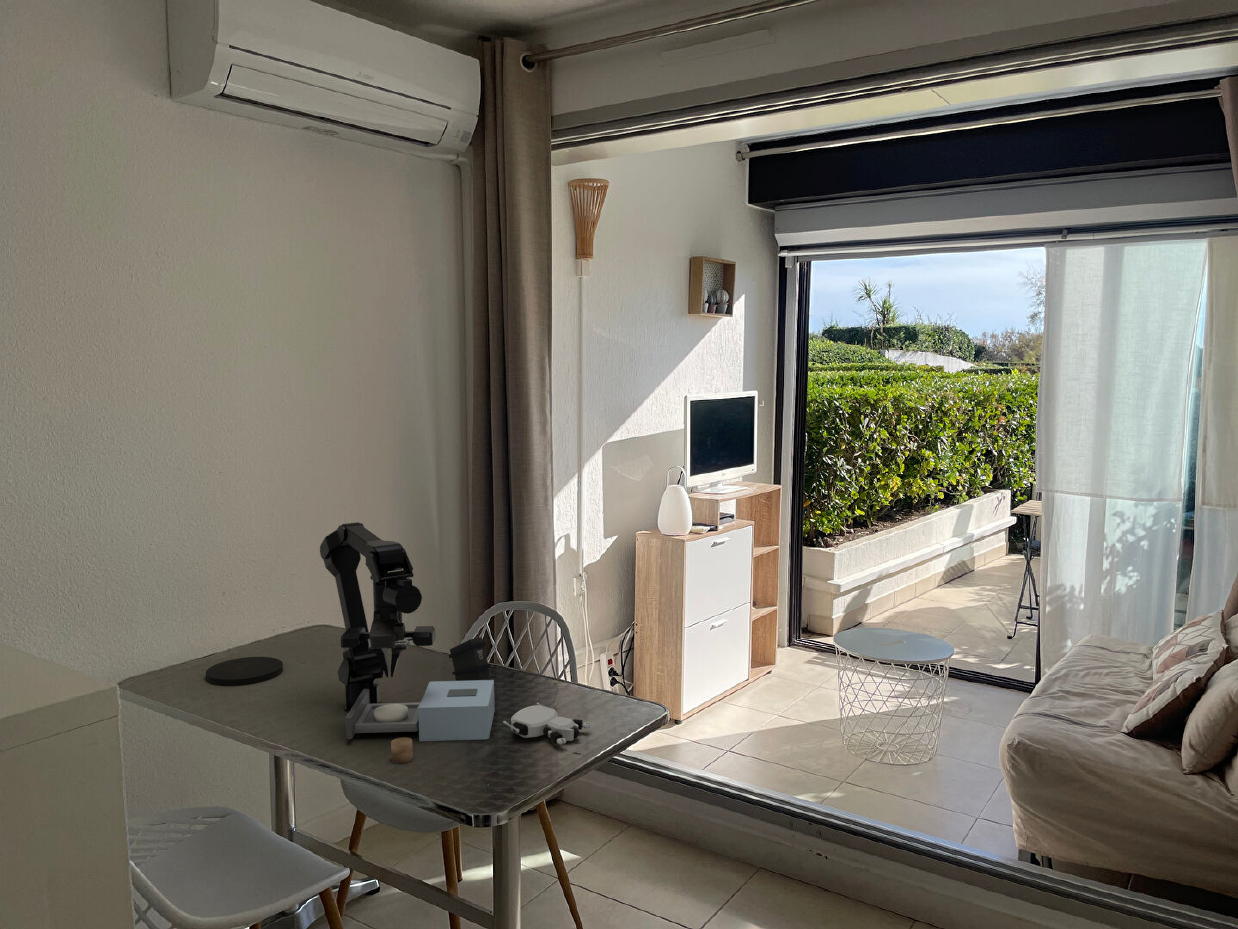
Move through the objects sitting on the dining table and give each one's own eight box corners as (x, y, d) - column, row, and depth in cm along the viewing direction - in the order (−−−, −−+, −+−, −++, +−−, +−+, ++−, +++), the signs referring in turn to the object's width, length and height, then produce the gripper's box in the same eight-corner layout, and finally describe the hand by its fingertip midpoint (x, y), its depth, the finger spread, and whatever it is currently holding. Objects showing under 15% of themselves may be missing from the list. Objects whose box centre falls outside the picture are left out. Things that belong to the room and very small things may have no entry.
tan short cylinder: (389, 763, 178) (389, 746, 177) (393, 755, 182) (392, 737, 181) (410, 763, 178) (410, 745, 177) (414, 754, 182) (413, 737, 181)
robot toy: (593, 737, 193) (533, 719, 200) (594, 716, 192) (534, 698, 199) (561, 758, 182) (499, 738, 189) (562, 736, 181) (500, 717, 189)
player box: (419, 741, 188) (418, 707, 188) (430, 712, 204) (429, 680, 203) (488, 739, 189) (488, 705, 188) (494, 710, 205) (493, 679, 204)
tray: (345, 738, 187) (345, 718, 186) (364, 708, 204) (363, 689, 203) (415, 736, 187) (415, 716, 187) (428, 706, 205) (427, 687, 204)
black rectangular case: (486, 705, 203) (469, 639, 207) (459, 715, 213) (443, 652, 217) (501, 701, 206) (484, 636, 209) (473, 711, 216) (457, 648, 219)
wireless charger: (298, 671, 234) (297, 664, 234) (235, 692, 219) (235, 684, 219) (253, 660, 243) (253, 652, 243) (190, 679, 228) (190, 671, 228)
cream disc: (370, 724, 192) (370, 716, 192) (377, 711, 199) (377, 704, 199) (405, 723, 192) (404, 715, 192) (410, 710, 199) (410, 703, 199)
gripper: (332, 614, 185) (335, 691, 186) (427, 612, 186) (429, 688, 187) (345, 601, 196) (348, 673, 197) (435, 599, 197) (436, 670, 198)
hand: (390, 676), depth 195 cm, fingers closed
